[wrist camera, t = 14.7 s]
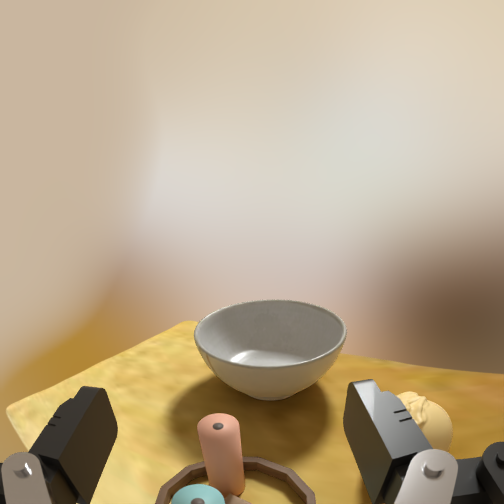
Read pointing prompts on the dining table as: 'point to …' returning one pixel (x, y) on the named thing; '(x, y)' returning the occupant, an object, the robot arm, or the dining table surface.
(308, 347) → the decorative bowl
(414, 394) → the sculpture
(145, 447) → the dining table surface
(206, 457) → the pink cylinder
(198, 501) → the teal cylinder
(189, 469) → the brown ring
